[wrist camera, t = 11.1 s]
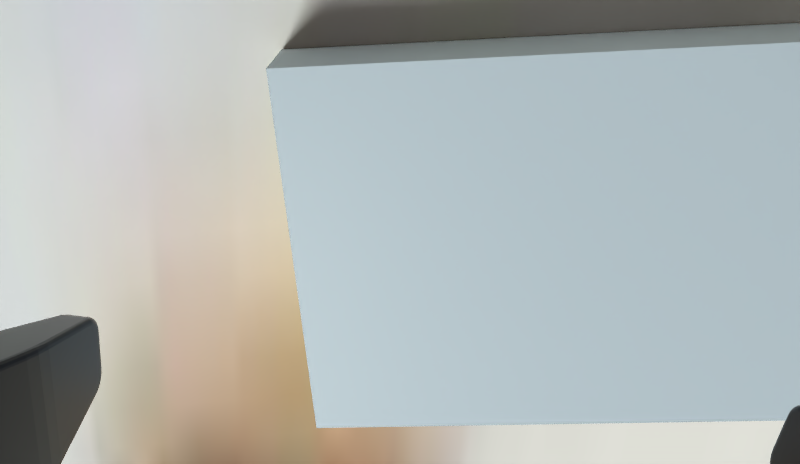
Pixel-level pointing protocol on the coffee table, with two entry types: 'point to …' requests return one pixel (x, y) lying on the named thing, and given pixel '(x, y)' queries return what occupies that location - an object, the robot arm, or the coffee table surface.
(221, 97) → the coffee table surface
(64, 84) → the coffee table surface
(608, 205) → the pale blue flat block
